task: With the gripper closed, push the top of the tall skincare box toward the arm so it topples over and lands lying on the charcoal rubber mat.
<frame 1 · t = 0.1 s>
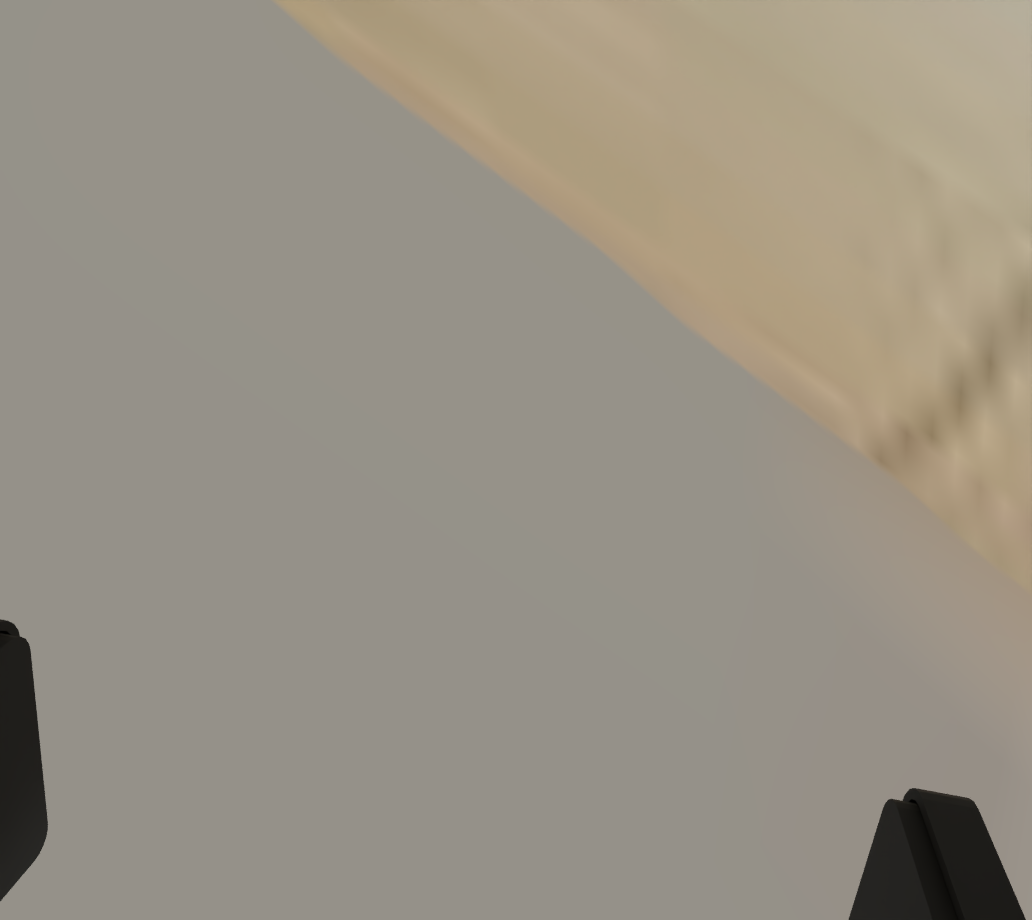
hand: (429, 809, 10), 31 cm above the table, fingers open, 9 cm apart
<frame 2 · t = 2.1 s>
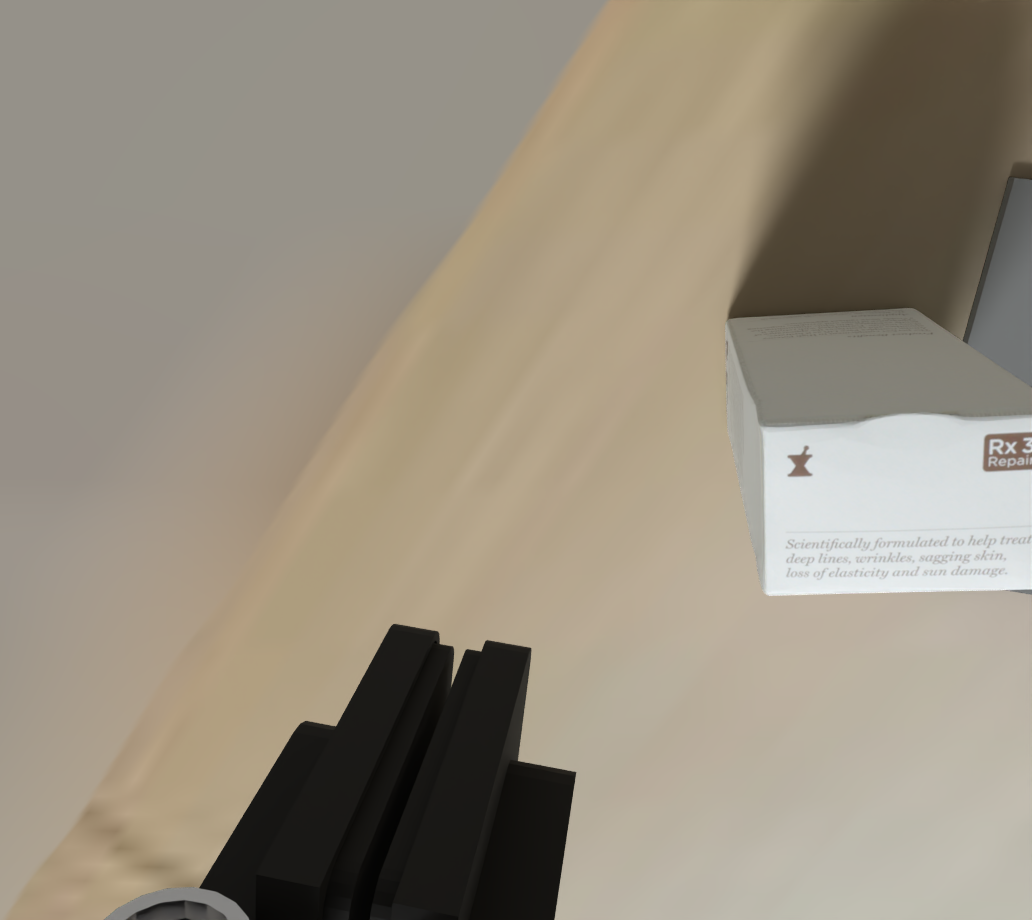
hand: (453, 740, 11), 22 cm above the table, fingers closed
skincare box: (821, 367, 31), on the table
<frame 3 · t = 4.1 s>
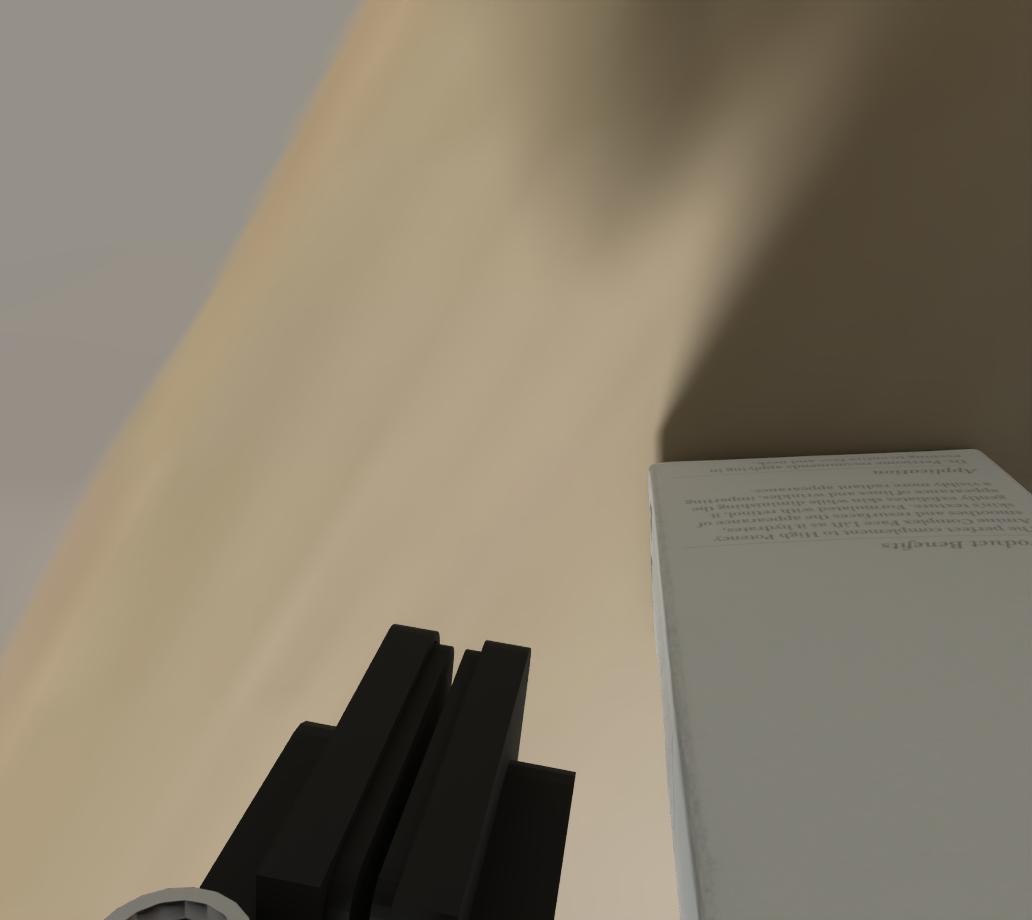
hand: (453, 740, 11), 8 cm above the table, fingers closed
skincare box: (814, 540, 18), on the table, touching gripper
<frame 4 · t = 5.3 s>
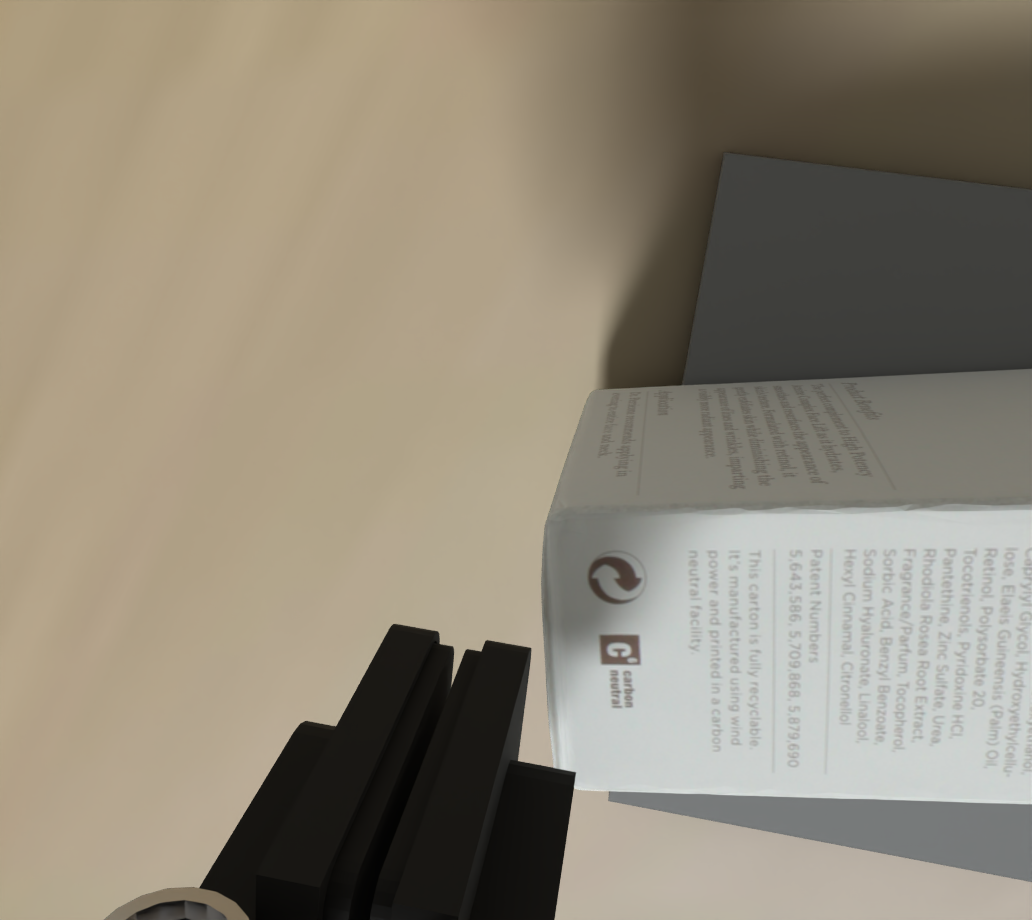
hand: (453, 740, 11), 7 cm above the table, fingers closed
mat: (987, 563, 17), on the table
skincare box: (556, 549, 15), point 3 cm above the table, touching mat
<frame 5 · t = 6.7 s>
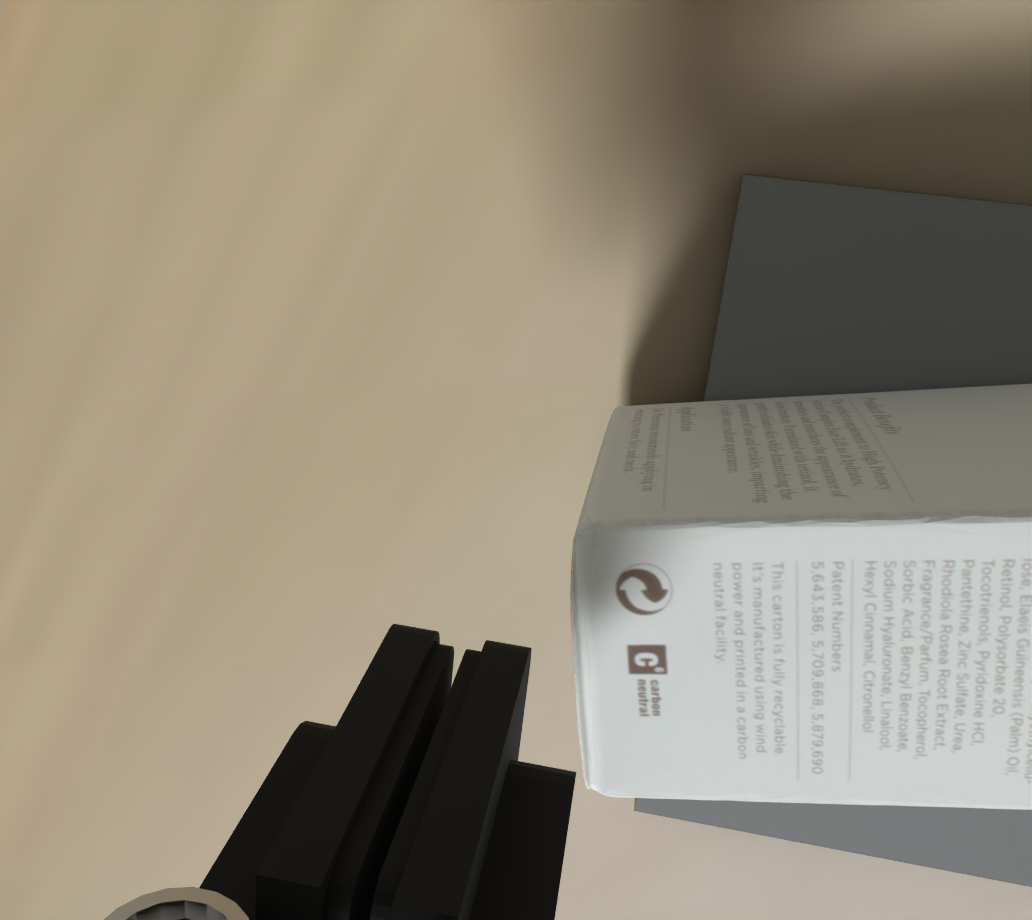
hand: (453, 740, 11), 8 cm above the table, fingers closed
mat: (1007, 574, 17), on the table
skincare box: (582, 562, 15), point 3 cm above the table, touching mat
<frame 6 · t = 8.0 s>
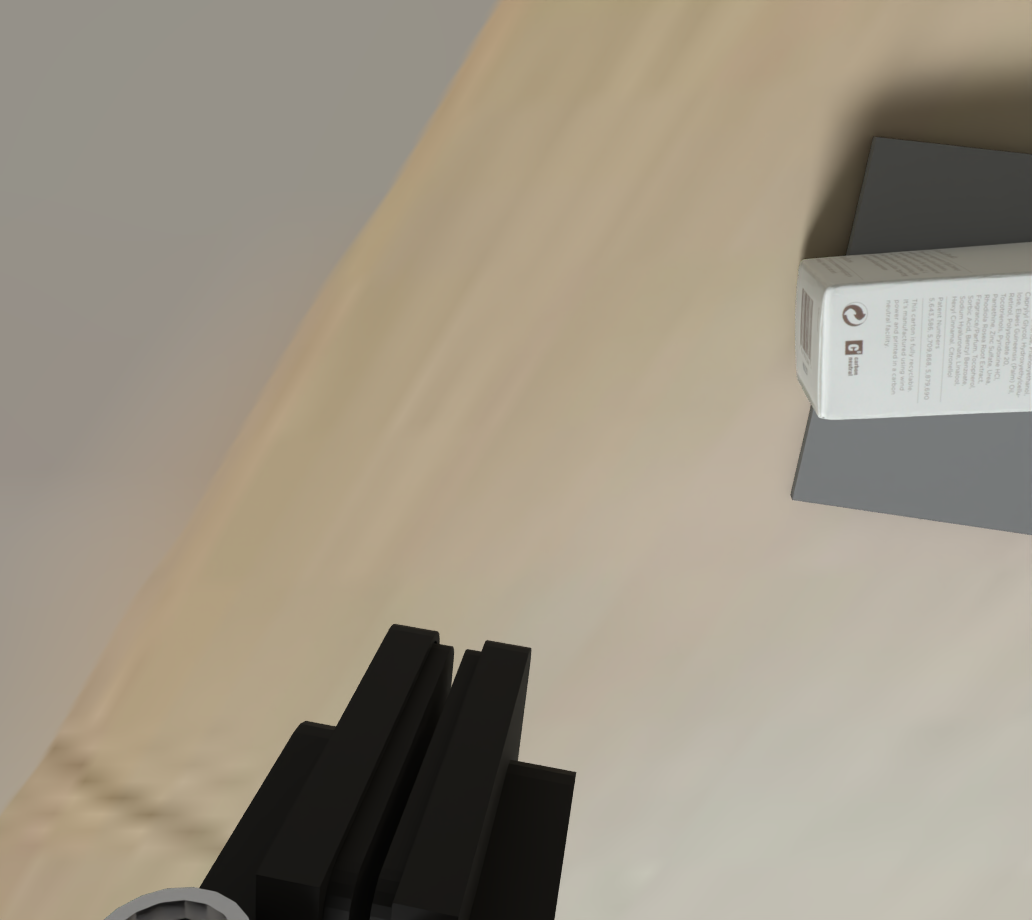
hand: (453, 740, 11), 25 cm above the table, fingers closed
mat: (1003, 351, 33), on the table
skincare box: (798, 329, 30), point 3 cm above the table, touching mat
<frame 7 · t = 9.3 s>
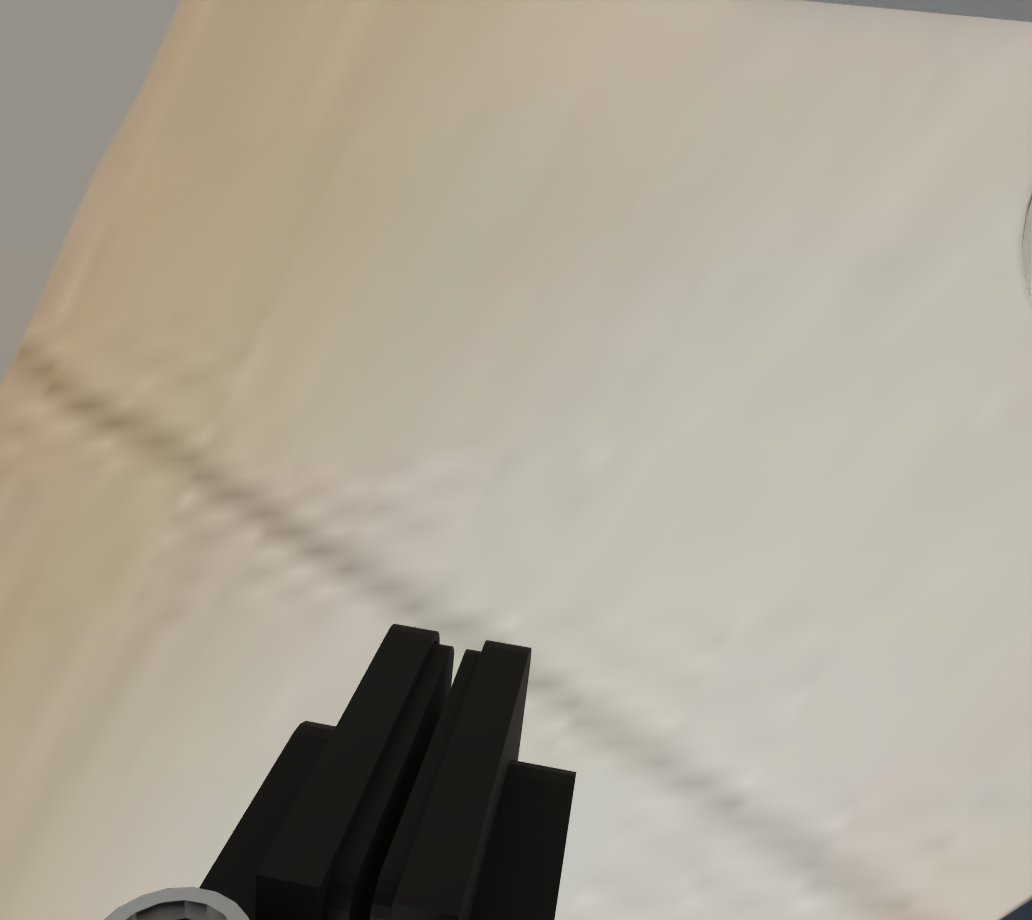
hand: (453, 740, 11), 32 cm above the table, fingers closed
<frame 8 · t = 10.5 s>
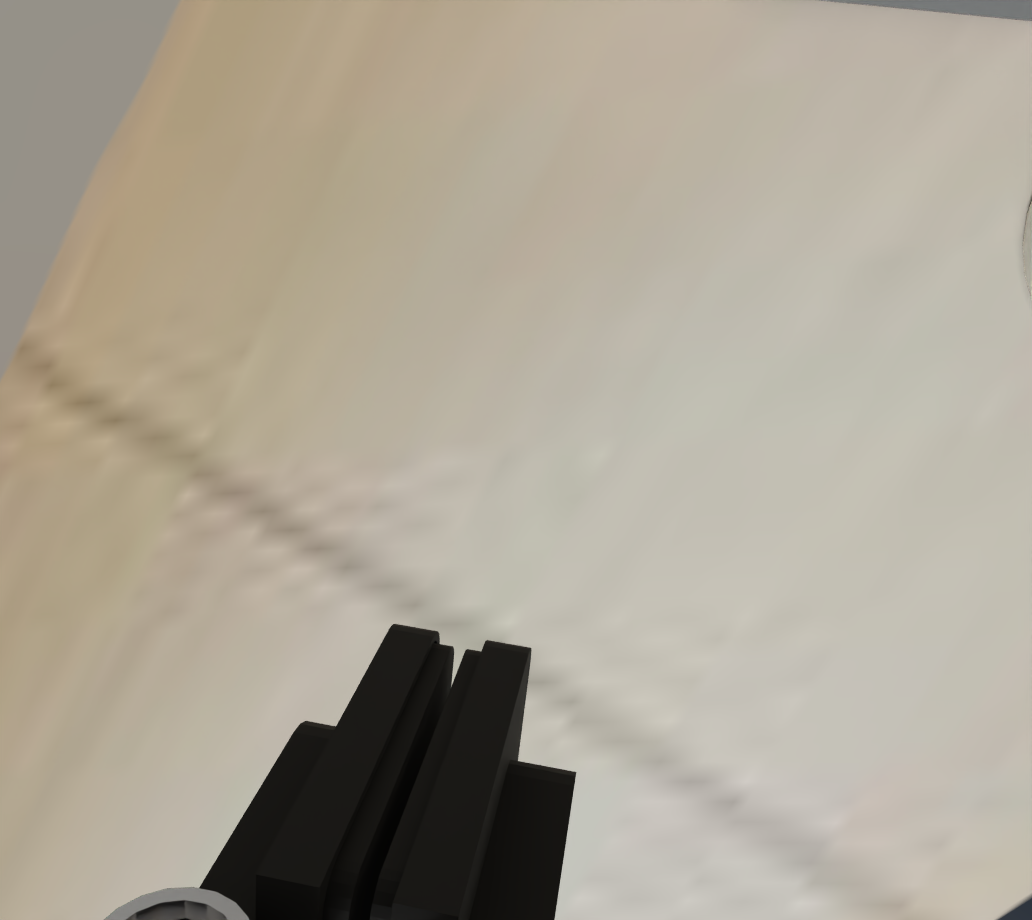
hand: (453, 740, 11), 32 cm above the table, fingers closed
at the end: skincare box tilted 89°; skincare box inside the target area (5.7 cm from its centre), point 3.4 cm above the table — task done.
